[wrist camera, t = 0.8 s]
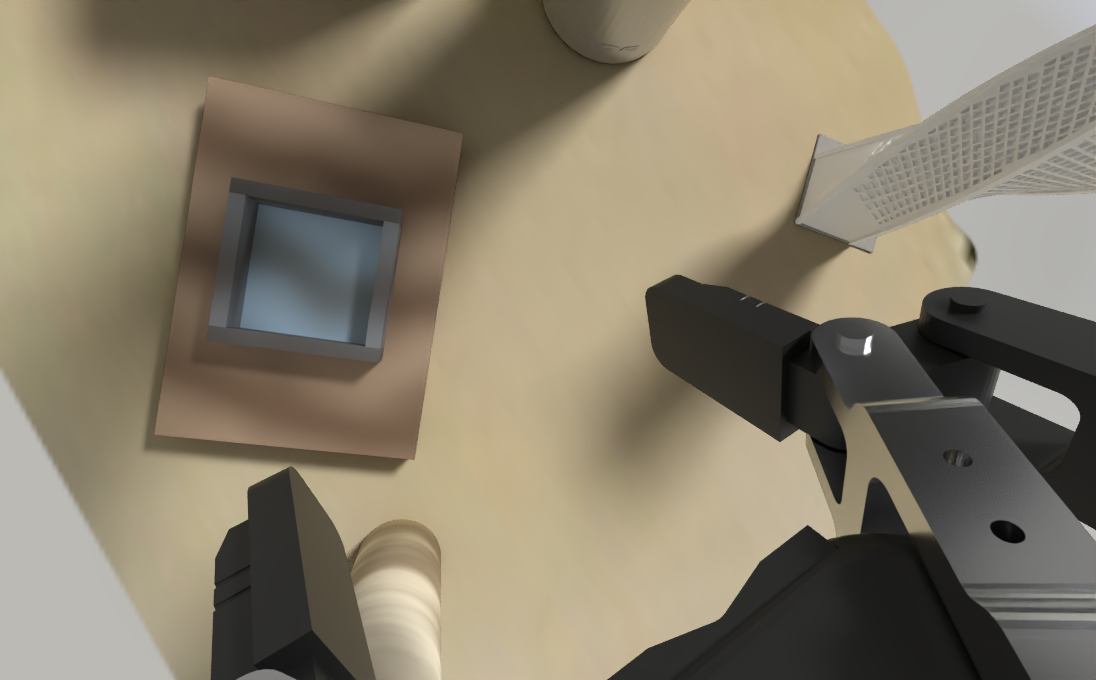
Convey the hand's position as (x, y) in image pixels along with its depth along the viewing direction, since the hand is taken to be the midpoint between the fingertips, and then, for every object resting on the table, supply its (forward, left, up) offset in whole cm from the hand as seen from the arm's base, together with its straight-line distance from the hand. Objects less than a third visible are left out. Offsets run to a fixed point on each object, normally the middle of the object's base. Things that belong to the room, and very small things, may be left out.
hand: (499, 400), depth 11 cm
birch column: (+14, -2, -23) cm, 27 cm away
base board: (-3, -9, -23) cm, 25 cm away
